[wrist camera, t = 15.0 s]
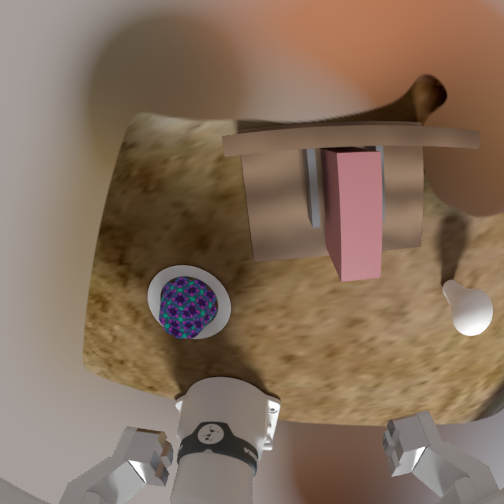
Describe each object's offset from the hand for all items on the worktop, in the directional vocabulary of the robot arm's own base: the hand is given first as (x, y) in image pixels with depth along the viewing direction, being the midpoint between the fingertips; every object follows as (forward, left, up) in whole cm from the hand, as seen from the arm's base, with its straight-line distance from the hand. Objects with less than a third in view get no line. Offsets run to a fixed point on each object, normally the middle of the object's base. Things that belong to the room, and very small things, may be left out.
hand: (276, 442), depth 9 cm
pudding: (-11, +13, -30) cm, 35 cm away
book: (+2, -8, -29) cm, 30 cm away
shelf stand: (+3, -8, -30) cm, 31 cm away
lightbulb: (-12, -25, -30) cm, 41 cm away
